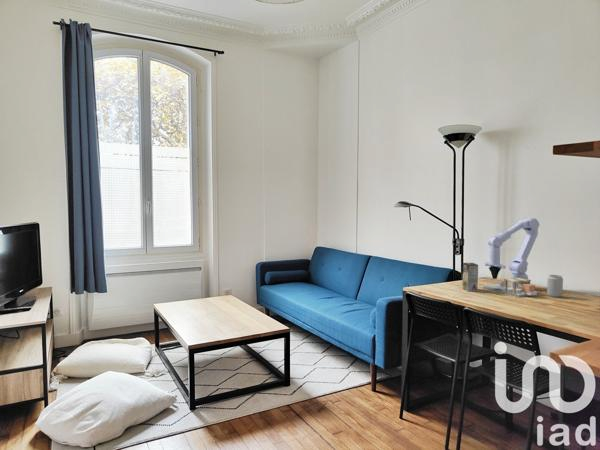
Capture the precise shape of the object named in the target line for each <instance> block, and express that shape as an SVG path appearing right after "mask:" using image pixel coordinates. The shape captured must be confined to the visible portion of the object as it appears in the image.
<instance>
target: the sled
mask: <svg viewBox="0 0 600 450" xmlns="http://www.w3.org/2000/svg"><path fill="white" fill-rule="evenodd" d="M498 284H499V287H503V288H504V280H503V281H499V282H498ZM507 288H508V289H512V290H513V288H511V287H507ZM516 290H517V291H521V292H522V290H520V289H516ZM537 293H538V291H536V290H535V291H534V292H529V293H525V294H527V295H537ZM537 296H538V295H537Z"/></svg>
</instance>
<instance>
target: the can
mask: <svg viewBox="0 0 600 450" xmlns="http://www.w3.org/2000/svg"><path fill="white" fill-rule="evenodd" d="M562 276H563V275H561V274H560V275H559V274H548V276H547V283H546V284H547V285H546V286H547V288H546V292H547V293H546V294H547V296H548V297H552V298H561V297H563V295H564V294H563V291H564V288H563V285H564V278H563V277H562Z"/></svg>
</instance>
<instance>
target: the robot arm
mask: <svg viewBox="0 0 600 450" xmlns="http://www.w3.org/2000/svg"><path fill="white" fill-rule="evenodd" d="M539 227H540V222H539V221H538V219H537V218H533V217H532V218H528V217H524V218H521V219H519V220H518V222H516V223H515V224H514V225H513V226H511V227H510V228H509V229H507V230H505V229H504V230H500V233H498V234H495V236H494V237H493V236H492V237H490V238H489V240H488V242H487V244H488V246H489V262H484V266H485V267H486V266H487V267H488V270H489V271H490V273H491V276H492V279H493V280H496V279H498V275H499V273H500V271H501V270H503V269H506V265H505V264H501V247H502V246H503V243H506V242H507V241H508V240H509V239H511V237H512V235H513V234H515V233H516V232H517V233H518V231H520V230H522V229H523V230H524V231H525V233H526V236H525V238H524V240H523V243H522V245H521V246H520V250H519V251H518V254H517V256H516V257H515V258H513V259H512V261H511V262H510V263H509V265H508V268H509V270H510V275H511V278H510V279H513V278H523V279H528V280H529V276H528V274H527V273H526V272H527V271H528V265H529V263H528V261H527V260H528V257H529V255H530V253H531V251H532V248H533V246H534V244H535V242H536V239H537V238H538V235H539ZM509 286H510V287H513V282H510V285H509ZM516 288H518V282H516Z"/></svg>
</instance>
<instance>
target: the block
mask: <svg viewBox="0 0 600 450" xmlns="http://www.w3.org/2000/svg"><path fill="white" fill-rule="evenodd" d="M534 291H536V285H535V284H531V283H530V284H523V289H522V292H525V293H529V292H534Z"/></svg>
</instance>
